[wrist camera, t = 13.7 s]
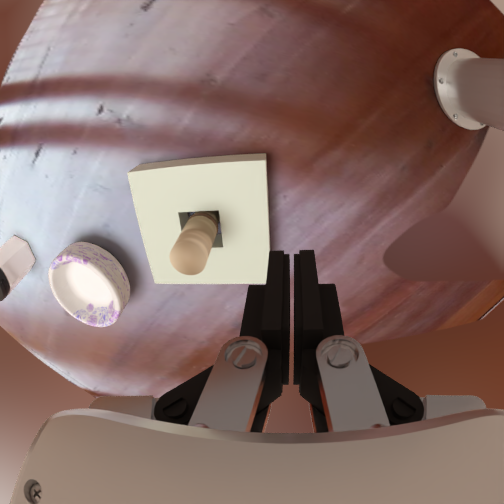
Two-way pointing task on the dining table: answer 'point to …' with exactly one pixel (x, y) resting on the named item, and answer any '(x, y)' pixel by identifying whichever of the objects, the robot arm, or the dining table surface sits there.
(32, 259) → the jar
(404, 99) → the dining table surface
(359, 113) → the dining table surface
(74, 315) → the paper bowls
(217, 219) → the peg
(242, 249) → the board
